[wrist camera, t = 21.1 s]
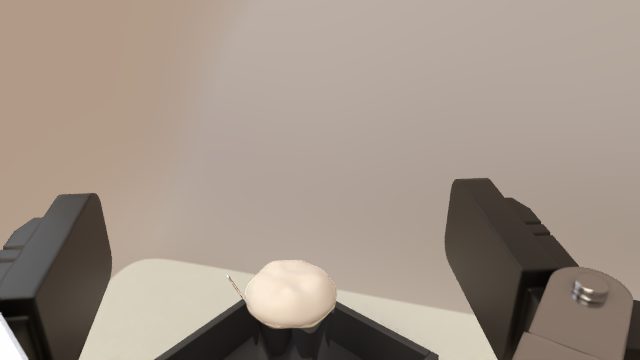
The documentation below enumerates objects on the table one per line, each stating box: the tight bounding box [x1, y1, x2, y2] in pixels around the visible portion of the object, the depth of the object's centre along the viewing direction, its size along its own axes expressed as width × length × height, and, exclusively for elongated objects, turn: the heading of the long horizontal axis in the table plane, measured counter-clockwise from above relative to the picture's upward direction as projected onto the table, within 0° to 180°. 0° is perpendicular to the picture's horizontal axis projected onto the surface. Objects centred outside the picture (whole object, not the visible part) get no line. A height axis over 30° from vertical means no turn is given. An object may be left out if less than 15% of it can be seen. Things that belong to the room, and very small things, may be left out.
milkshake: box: [227, 260, 336, 360], centre depth 29 cm, size 4×5×10 cm
